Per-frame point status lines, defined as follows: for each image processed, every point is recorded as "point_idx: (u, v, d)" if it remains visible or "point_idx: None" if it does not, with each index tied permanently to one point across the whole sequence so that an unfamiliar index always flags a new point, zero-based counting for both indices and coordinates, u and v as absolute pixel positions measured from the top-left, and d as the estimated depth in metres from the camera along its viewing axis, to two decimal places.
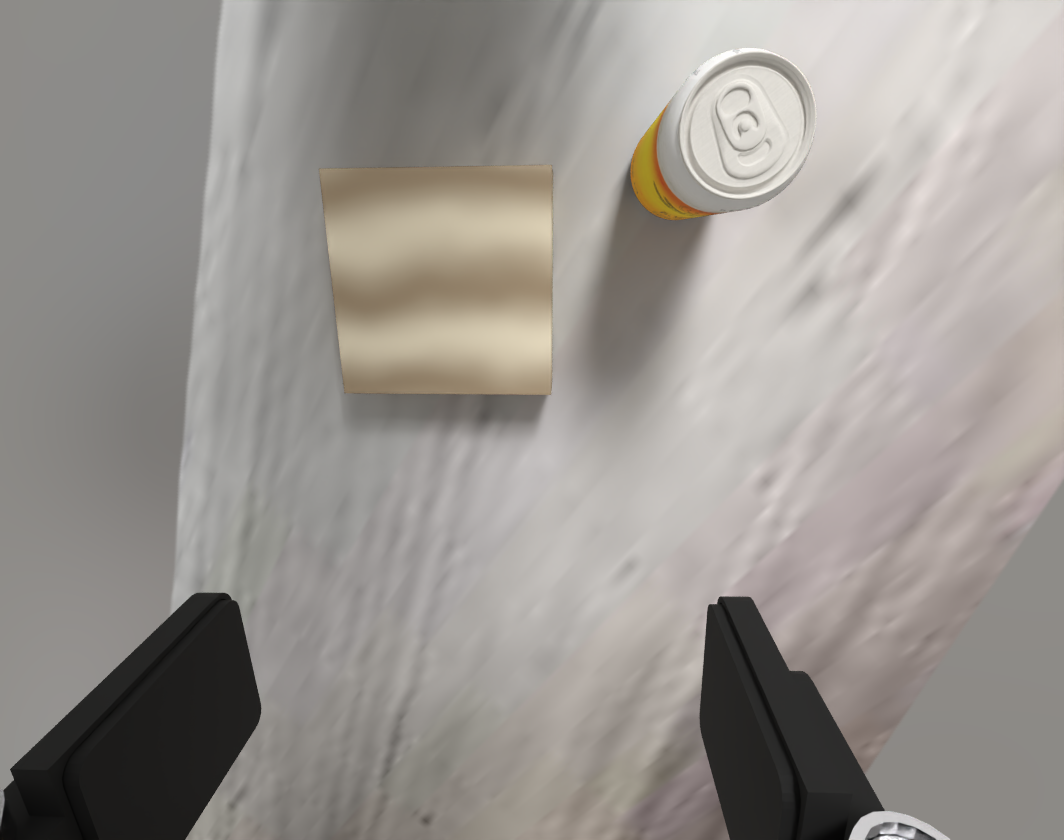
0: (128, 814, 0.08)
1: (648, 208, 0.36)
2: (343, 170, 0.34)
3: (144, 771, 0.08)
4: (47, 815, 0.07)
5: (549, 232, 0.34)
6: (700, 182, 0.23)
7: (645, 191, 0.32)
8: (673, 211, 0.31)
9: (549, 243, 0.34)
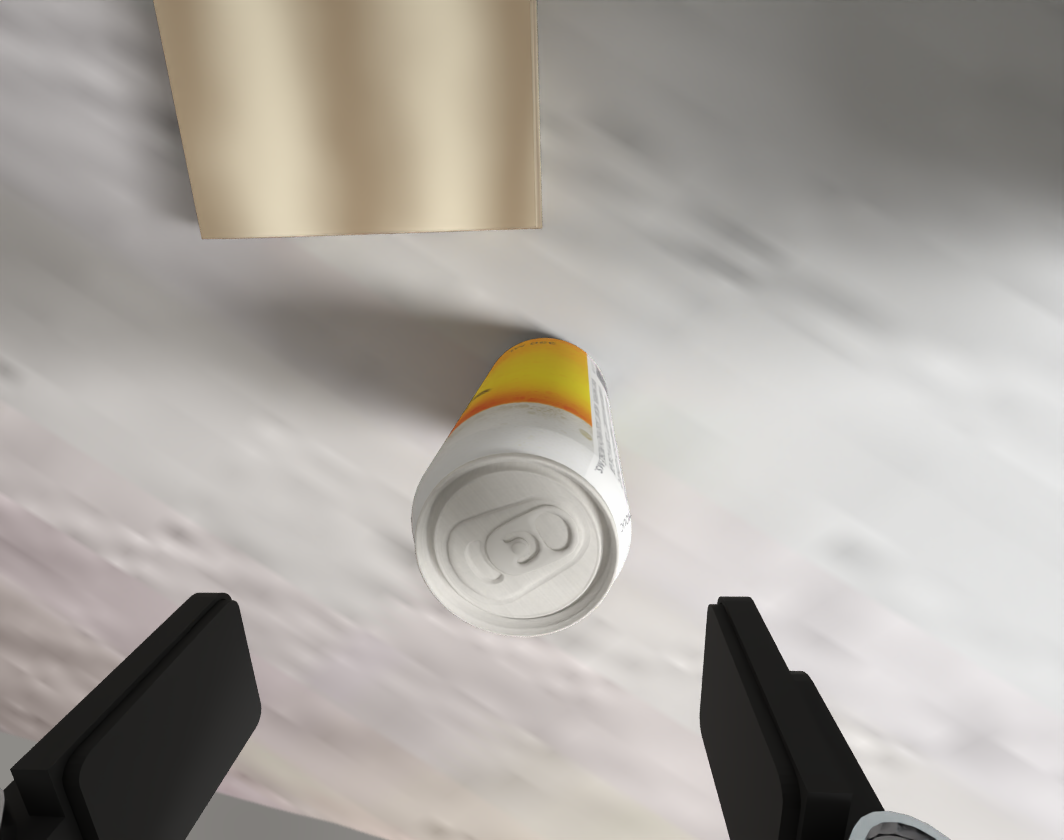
0: (128, 814, 0.08)
1: (493, 366, 0.27)
2: None
3: (144, 771, 0.08)
4: (47, 815, 0.07)
5: (442, 227, 0.23)
6: (434, 493, 0.14)
7: (499, 367, 0.23)
8: None
9: (427, 228, 0.23)
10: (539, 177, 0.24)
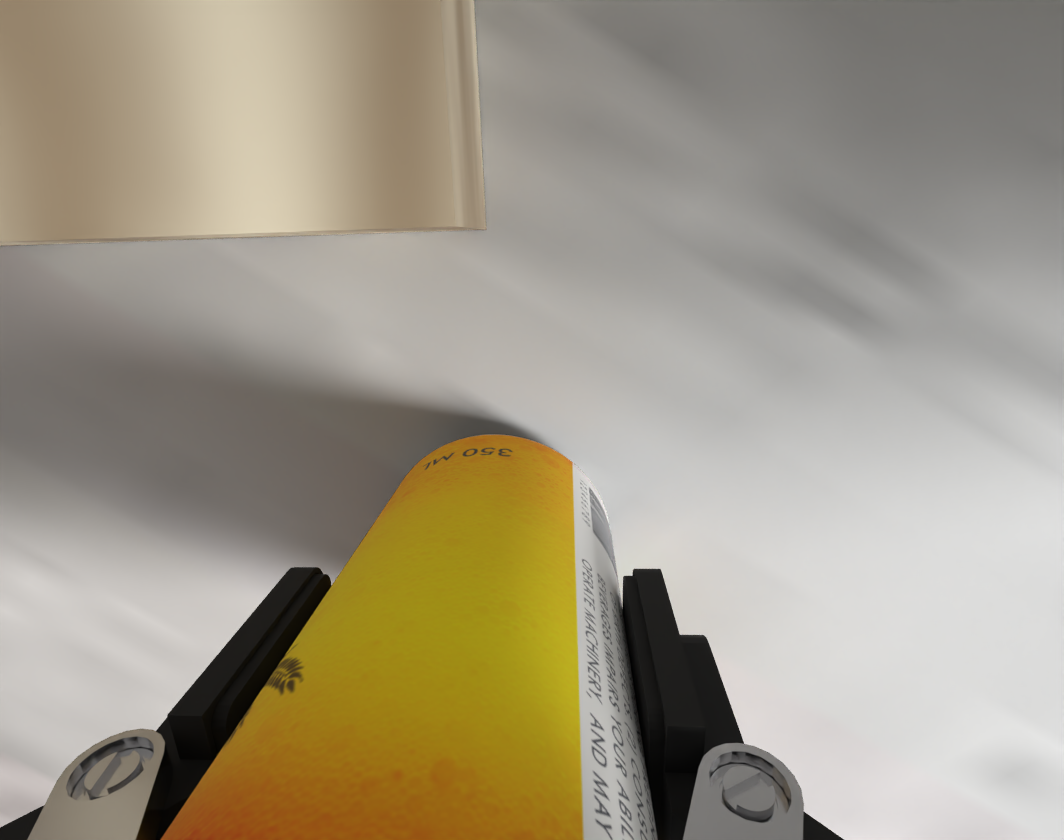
0: None
1: (396, 490, 0.14)
2: None
3: None
4: (198, 758, 0.08)
5: (246, 226, 0.10)
6: None
7: (381, 533, 0.11)
8: None
9: (212, 228, 0.10)
10: (473, 125, 0.12)
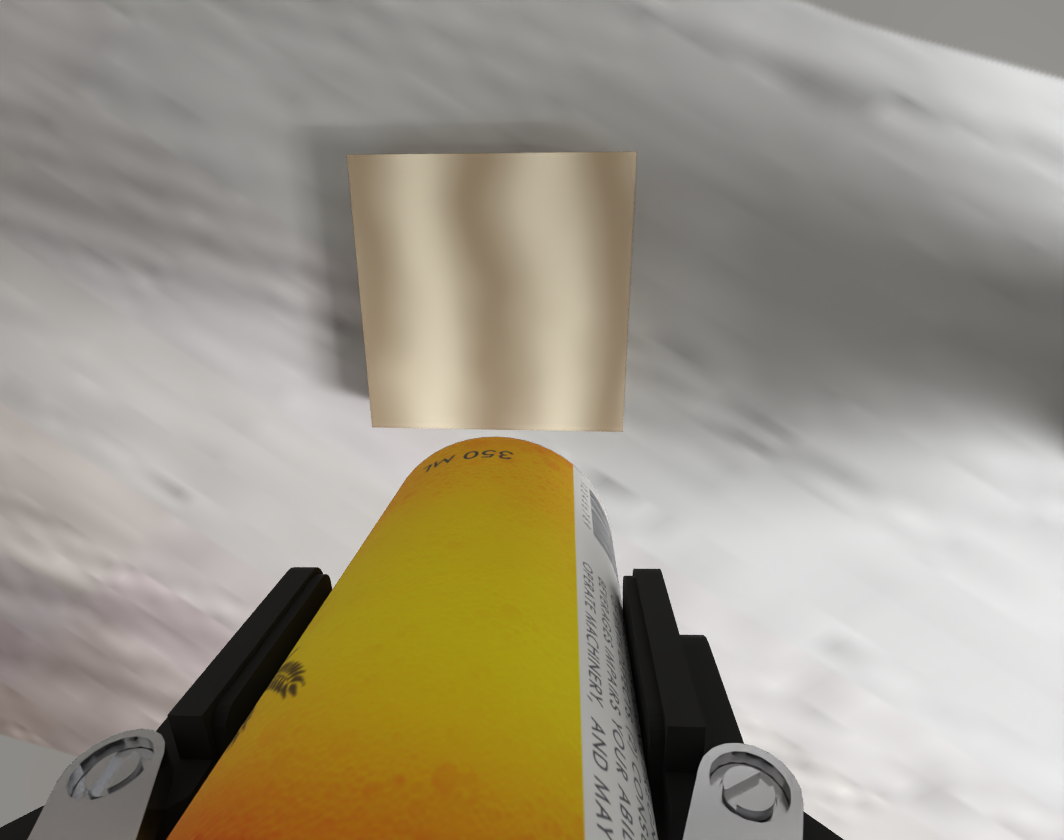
0: None
1: (397, 492, 0.14)
2: (632, 186, 0.27)
3: None
4: (198, 758, 0.08)
5: (554, 428, 0.31)
6: None
7: (382, 536, 0.11)
8: None
9: (542, 428, 0.31)
10: None
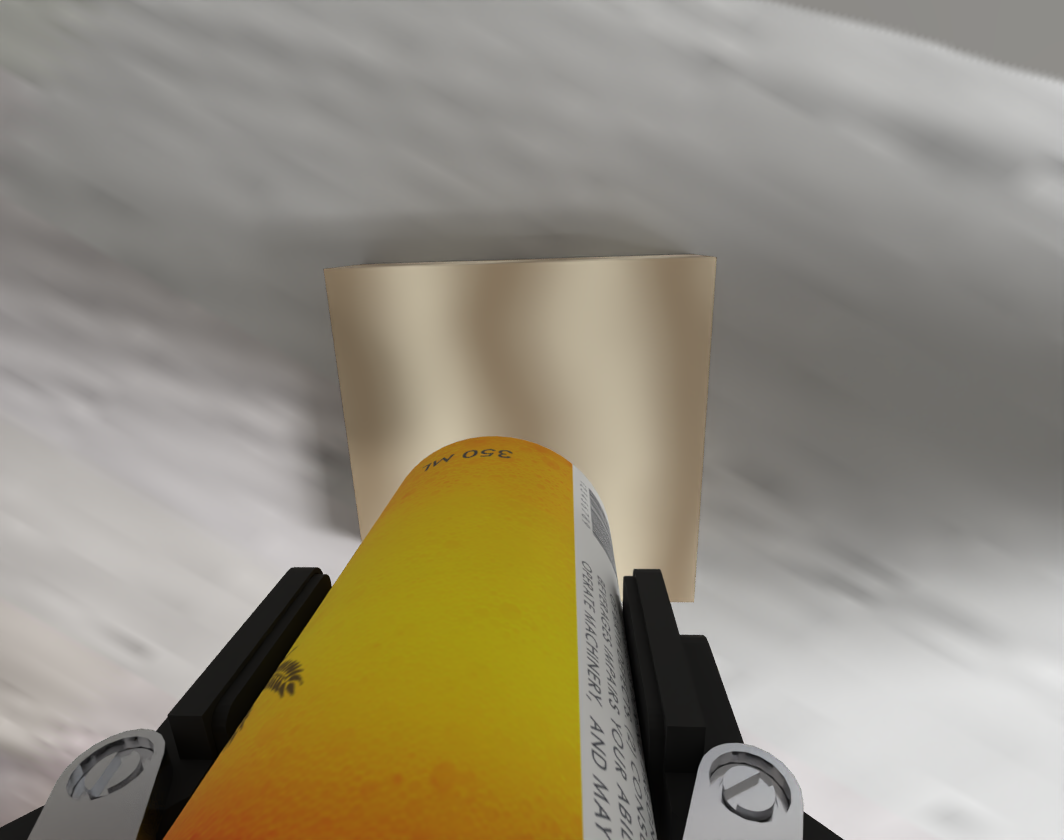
0: None
1: (396, 491, 0.14)
2: (710, 301, 0.20)
3: None
4: (198, 758, 0.08)
5: None
6: None
7: (381, 535, 0.11)
8: None
9: None
10: None
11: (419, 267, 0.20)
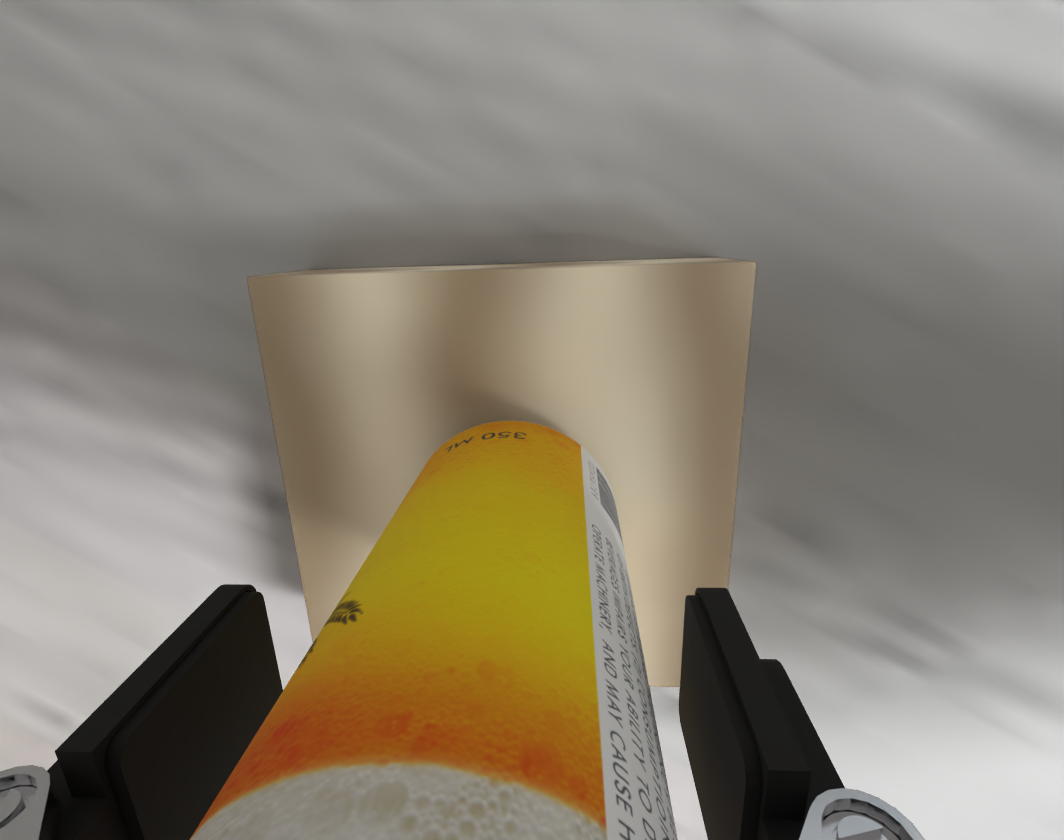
0: (164, 797, 0.08)
1: (420, 472, 0.15)
2: (746, 319, 0.15)
3: (178, 756, 0.09)
4: (90, 796, 0.07)
5: None
6: None
7: (413, 504, 0.12)
8: None
9: None
10: None
11: (370, 275, 0.16)
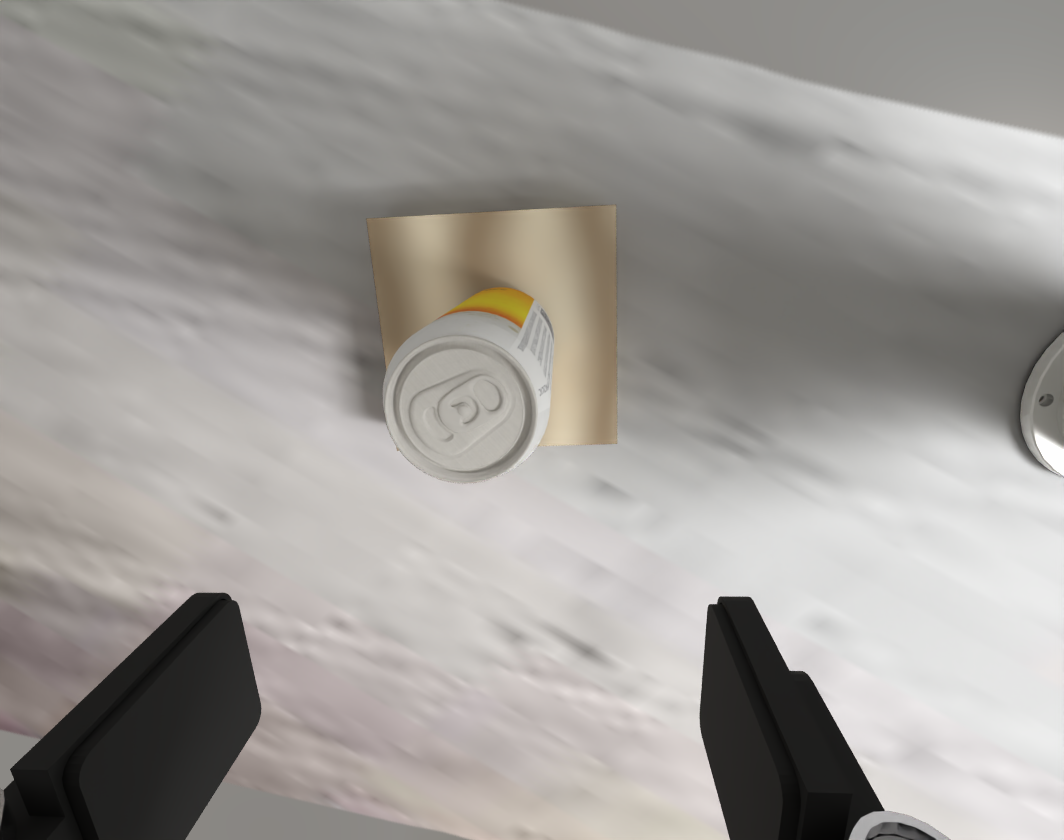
0: (128, 814, 0.08)
1: None
2: (614, 233, 0.31)
3: (144, 771, 0.08)
4: (47, 815, 0.07)
5: (556, 444, 0.35)
6: (397, 368, 0.19)
7: None
8: None
9: (546, 444, 0.35)
10: None
11: (428, 216, 0.32)
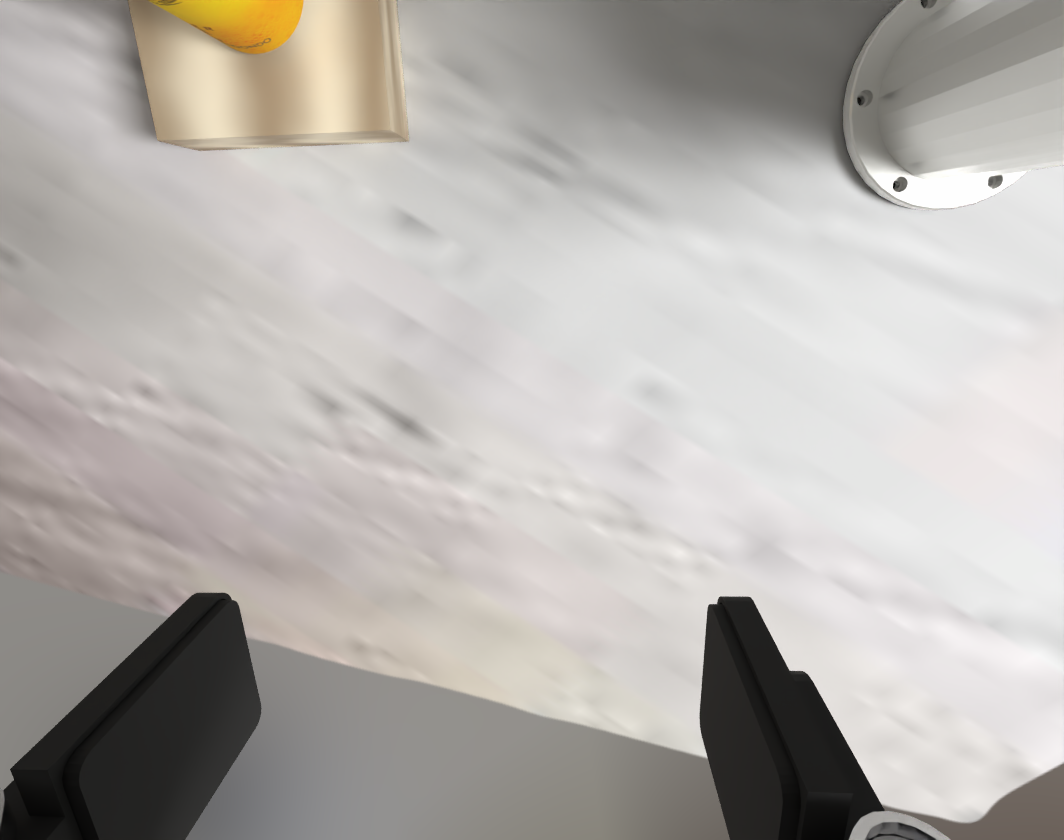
0: (128, 814, 0.08)
1: None
2: None
3: (144, 771, 0.08)
4: (47, 815, 0.07)
5: (326, 130, 0.32)
6: None
7: None
8: None
9: (315, 131, 0.33)
10: (400, 100, 0.34)
11: None
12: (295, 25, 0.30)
